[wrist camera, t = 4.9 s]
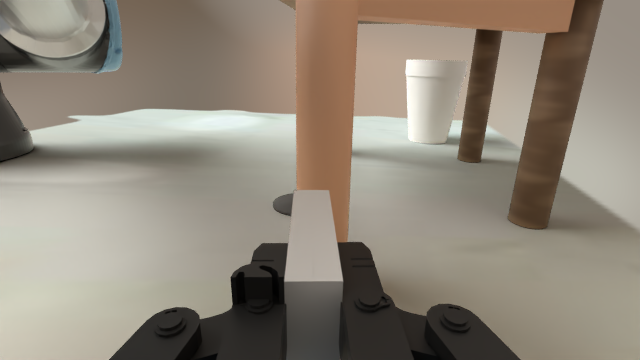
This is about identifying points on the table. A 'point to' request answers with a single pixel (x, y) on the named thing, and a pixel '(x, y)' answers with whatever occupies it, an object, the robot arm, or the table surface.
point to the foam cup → (432, 98)
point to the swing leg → (340, 63)
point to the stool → (544, 118)
